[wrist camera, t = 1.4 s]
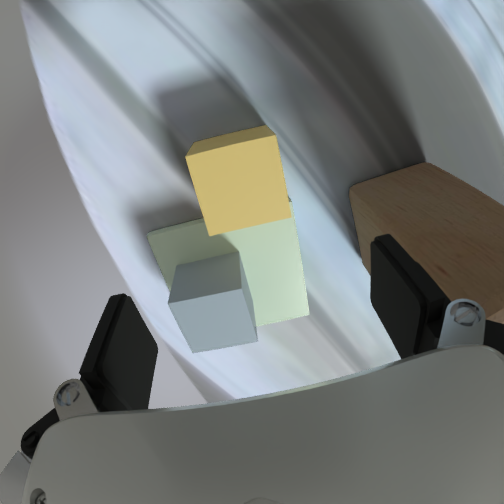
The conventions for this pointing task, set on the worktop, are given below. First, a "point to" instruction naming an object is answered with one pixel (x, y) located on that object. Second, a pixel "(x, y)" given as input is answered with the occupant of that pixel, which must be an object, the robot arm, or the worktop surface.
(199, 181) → the ochre brick
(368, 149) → the worktop surface
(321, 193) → the worktop surface
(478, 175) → the worktop surface
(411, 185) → the block
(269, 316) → the plate
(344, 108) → the worktop surface
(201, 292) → the slate brick
